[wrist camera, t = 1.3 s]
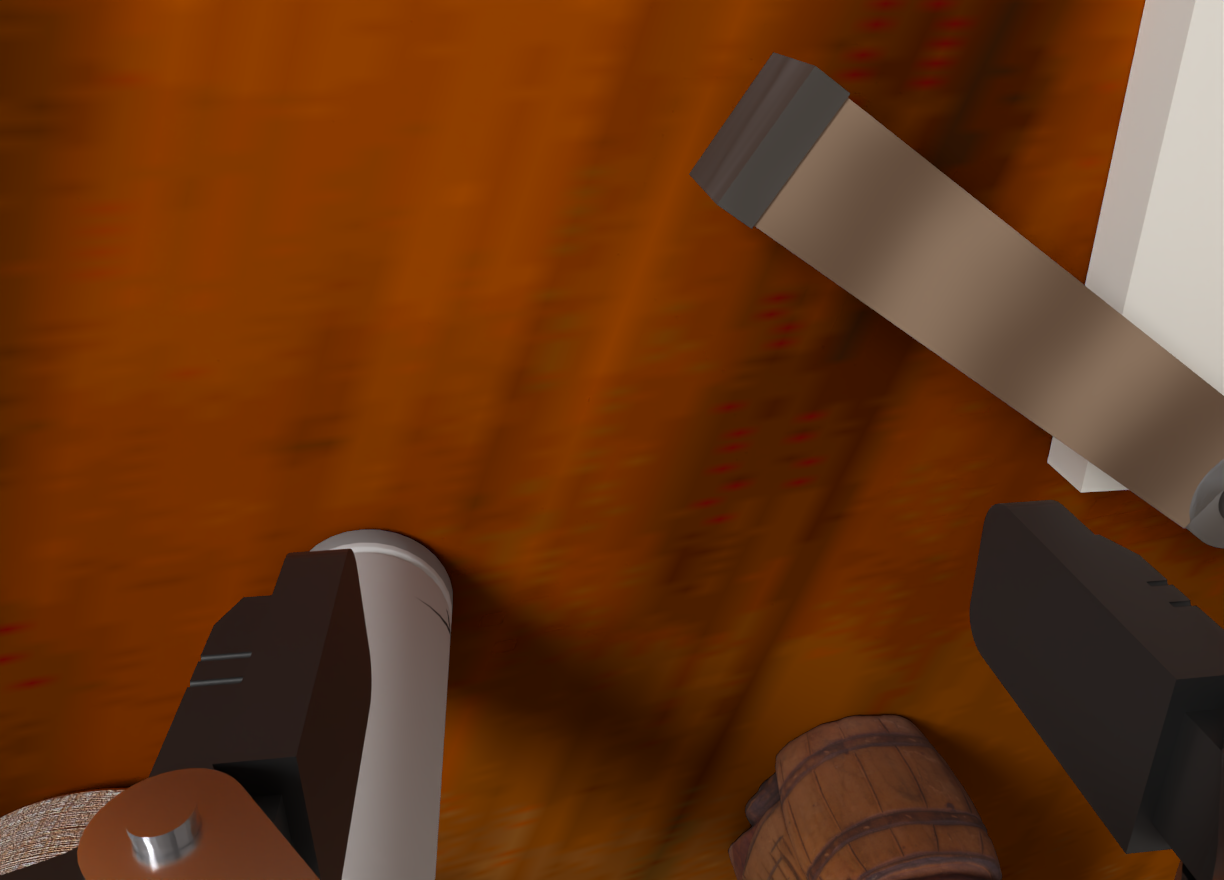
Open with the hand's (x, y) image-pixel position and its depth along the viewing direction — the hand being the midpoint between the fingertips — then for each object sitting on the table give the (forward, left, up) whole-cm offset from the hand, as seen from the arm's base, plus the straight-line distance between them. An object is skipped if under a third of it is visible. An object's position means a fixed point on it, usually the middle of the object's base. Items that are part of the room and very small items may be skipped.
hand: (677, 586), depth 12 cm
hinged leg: (+4, +14, -20) cm, 25 cm away
